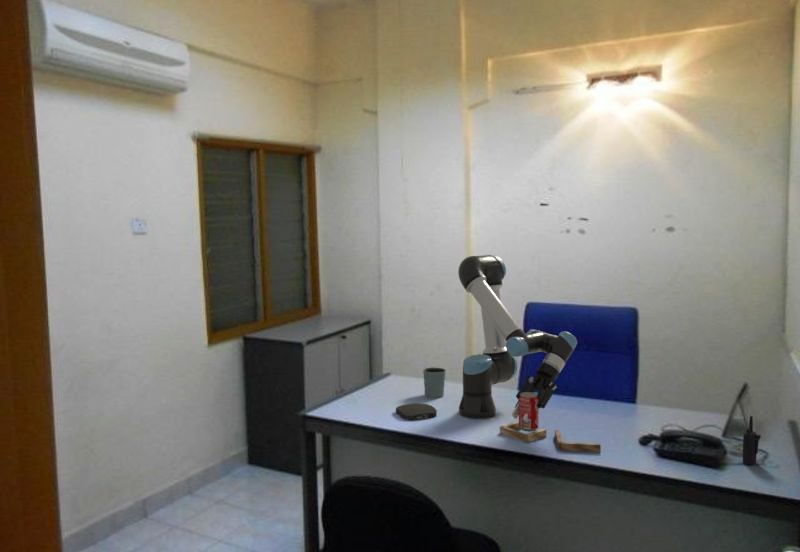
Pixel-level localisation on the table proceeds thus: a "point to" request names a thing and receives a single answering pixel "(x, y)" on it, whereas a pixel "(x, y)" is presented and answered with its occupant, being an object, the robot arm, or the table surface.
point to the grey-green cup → (434, 382)
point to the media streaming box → (416, 411)
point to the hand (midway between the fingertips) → (519, 418)
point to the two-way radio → (750, 444)
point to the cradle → (576, 445)
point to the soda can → (528, 411)
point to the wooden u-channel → (511, 432)
